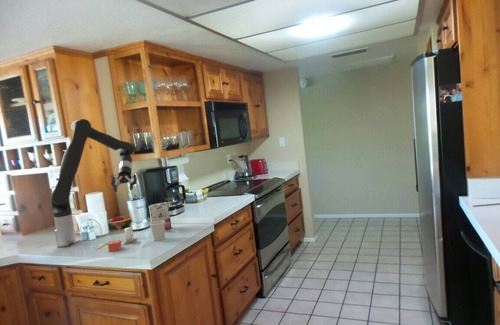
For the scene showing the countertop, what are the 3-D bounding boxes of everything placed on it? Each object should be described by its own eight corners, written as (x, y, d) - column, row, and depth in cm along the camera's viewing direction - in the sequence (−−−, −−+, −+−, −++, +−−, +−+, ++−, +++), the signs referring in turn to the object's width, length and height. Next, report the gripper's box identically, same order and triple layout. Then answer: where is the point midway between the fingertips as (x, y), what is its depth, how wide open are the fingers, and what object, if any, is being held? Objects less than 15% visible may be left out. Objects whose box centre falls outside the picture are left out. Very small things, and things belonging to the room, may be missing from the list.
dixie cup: (148, 242, 185) (146, 224, 184) (157, 237, 192) (155, 220, 192) (161, 242, 182) (159, 224, 181) (170, 237, 190) (168, 219, 189)
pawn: (125, 243, 183) (123, 229, 182) (127, 241, 186) (125, 228, 186) (133, 242, 183) (131, 228, 183) (134, 240, 187) (132, 226, 186)
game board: (93, 252, 176) (93, 250, 176) (100, 245, 188) (100, 243, 188) (135, 246, 179) (135, 244, 179) (139, 239, 191) (138, 237, 191)
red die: (109, 254, 171) (107, 244, 171) (111, 250, 176) (110, 241, 175) (119, 252, 172) (118, 242, 171) (121, 249, 177) (120, 239, 176)
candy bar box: (169, 227, 212) (166, 201, 211) (171, 228, 208) (168, 202, 207) (151, 231, 207) (148, 205, 206) (153, 233, 203) (149, 206, 202)
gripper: (111, 166, 207) (109, 187, 197) (135, 164, 209) (134, 185, 198) (115, 174, 213) (112, 195, 202) (138, 172, 215) (137, 192, 204)
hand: (123, 190), depth 200 cm, fingers open, 8 cm apart
